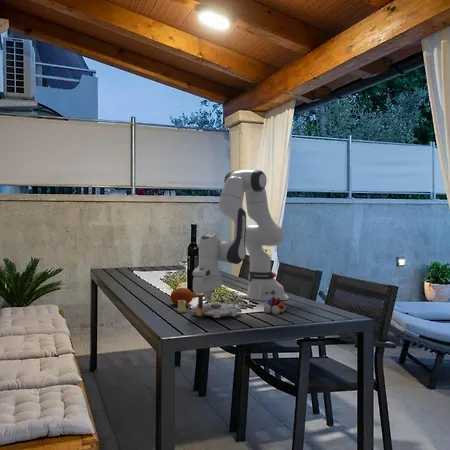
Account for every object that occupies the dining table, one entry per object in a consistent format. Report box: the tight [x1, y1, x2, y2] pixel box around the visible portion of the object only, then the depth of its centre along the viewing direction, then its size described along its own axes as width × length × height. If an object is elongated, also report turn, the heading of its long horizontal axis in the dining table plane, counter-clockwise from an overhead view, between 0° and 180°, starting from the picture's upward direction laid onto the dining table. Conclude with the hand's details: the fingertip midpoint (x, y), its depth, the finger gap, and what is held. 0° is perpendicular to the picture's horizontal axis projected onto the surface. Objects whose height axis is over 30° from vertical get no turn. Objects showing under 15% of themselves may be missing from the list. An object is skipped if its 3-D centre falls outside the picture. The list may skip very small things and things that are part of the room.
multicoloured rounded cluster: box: [263, 297, 286, 315], centre depth 220 cm, size 8×10×7 cm
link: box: [177, 300, 187, 313], centre depth 219 cm, size 4×6×5 cm, turn 6°
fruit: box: [170, 287, 193, 306], centre depth 233 cm, size 11×10×8 cm
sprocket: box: [191, 294, 242, 318], centre depth 212 cm, size 22×22×7 cm
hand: (207, 300), depth 218 cm, fingers closed
